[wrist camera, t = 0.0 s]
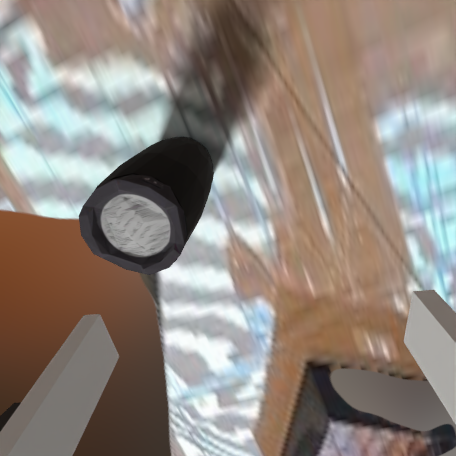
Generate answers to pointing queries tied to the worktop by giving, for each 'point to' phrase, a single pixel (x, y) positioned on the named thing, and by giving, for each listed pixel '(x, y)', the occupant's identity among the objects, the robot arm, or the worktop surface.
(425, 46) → the worktop surface
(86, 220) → the portable speaker
